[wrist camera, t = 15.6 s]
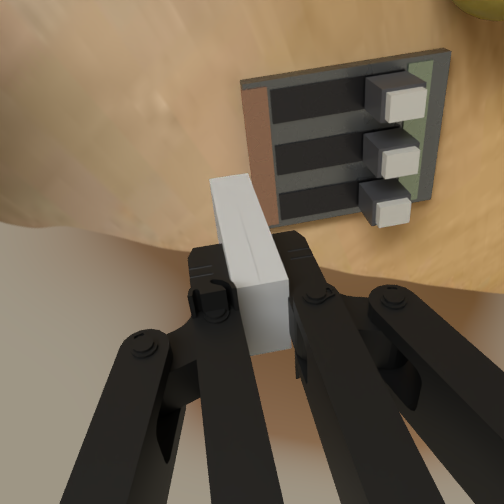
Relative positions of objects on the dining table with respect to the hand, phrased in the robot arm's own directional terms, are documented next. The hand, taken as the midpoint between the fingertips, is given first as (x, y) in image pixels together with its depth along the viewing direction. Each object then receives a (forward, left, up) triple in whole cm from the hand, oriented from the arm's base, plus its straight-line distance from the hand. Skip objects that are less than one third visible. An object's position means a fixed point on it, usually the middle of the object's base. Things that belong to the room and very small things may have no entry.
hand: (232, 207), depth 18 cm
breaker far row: (+17, -5, -26) cm, 32 cm away
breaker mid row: (+17, -11, -26) cm, 33 cm away
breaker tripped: (+17, -16, -26) cm, 35 cm away
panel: (+14, -11, -28) cm, 33 cm away
